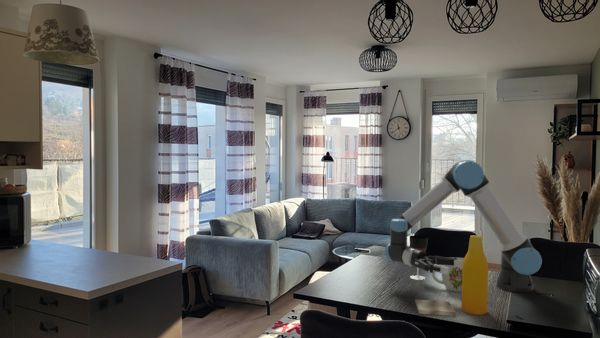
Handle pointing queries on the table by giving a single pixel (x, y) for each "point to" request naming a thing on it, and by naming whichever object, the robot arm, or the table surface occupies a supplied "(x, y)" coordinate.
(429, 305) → the birch board
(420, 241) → the wineglass
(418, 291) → the table surface
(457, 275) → the pitcher
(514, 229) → the robot arm
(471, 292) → the beer bottle
